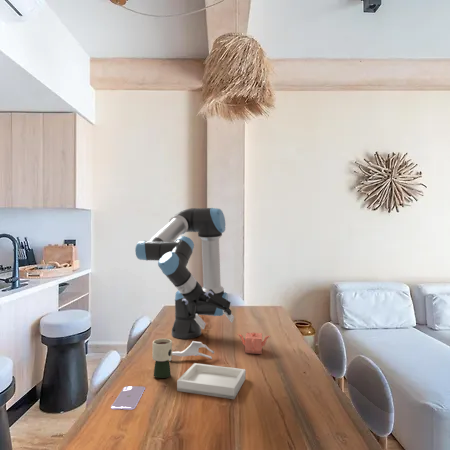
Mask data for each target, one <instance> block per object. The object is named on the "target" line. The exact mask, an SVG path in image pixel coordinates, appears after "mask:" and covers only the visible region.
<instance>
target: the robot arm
mask: <svg viewBox="0 0 450 450" xmlns="http://www.w3.org/2000/svg"><path fill="white" fill-rule="evenodd" d="M225 231H226V218H225V214H224V212H223V210H222V209H221V208H217V207H216V208H215V207H214V208H213V207H207V208H206V207H200V208H198V207H197V208H196V207H195V208H193V207H191V208H186V209H184V210H181V211H179V212H178V213H176V214H174V215H173V216H172V217H170V219H169V221H168V223H167V224H165V226H164V227H162V228H161V229H160V230H159V231H158V232H157V233H155V234H154V235H153V236H152V237H151V238H150V239H149V240H141V241H138V242H136V245H135V248H134V249H135V255H136V256H135V257H136V258H137V259H138V260H140V261H157V265H158V267H159V269H160V271H161V272H162V274H164V275H165V276H166V278H167V279H168V280H169V281H170V282H171V283H172V285H174V288H176V290H177V291H176V292H175V296H174V297H175V299H174V312H175V313H174V317H175V318H174V322H173V325H172V328H171V336H172V337H173V338H176V339H186V340H187V339H195V338H198V337H200V336H202V330H204V329H205V328H206V322H205V321H204V319H203V318H202V317H201V316H211V317H222V316H224V315H225V316H226V318H227V319H228V320H229V322H230V323H233V322H234V319H235V316H234V315H233V314H232V310H231V309H230V307H231V301H230V300H228V299H229V298H228V297H229V296H228V293H227V292H225V290H224V289H225V288H224V287H223V286H222V285H221V259H220V258H221V256H220V254H221V253H220V238H222V236H223V233H225ZM186 233H197V235H198V236H197V237H198V238H199V239H200V240H201V259H202V260H201V262H202V282H203V283H202V284H203V286H202V285H201V284H200V283H199V282H198V281H197V279H196V278H195V277H194V275H193V274H192V273H191V272H190V270H189V269H188V268H187V267H188V263H189V261H190V258H191V256H192V254H193V251H194V248H195V247H194V246H195V244H194V241H193V240H192V239H191V238H190V237H188V236H186V235H185V236H184V234H186ZM182 235H183V236H182Z"/></svg>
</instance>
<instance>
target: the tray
mask: <svg viewBox="0 0 450 450" xmlns="http://www.w3.org/2000/svg"><path fill="white" fill-rule="evenodd" d="M246 374H247V373H246V369H245V368H237V367H229V366H221V365H213V364H212V365H211V364H205V363H197V362H193V364H192V365H191V366H190V367H189V368H188V369H187V370H186V371H185V372H184V373H183V374H182V375H180V377H179V378H178V379H177V381H176V391H177V392H183V393H190V394H194V395H195V394H196V395H202V396H203V395H204V396H209V397H210V396H211V397H217V398H222V399H223V398H224V399H231V400H235V398H236V397H237V395H238V393H239V391H240V390H241V389H242V385H243V384H244V382H245V380H246Z"/></svg>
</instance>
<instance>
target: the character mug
mask: <svg viewBox="0 0 450 450" xmlns="http://www.w3.org/2000/svg"><path fill="white" fill-rule="evenodd" d="M172 352H173V340H172V339H170V338H157V339H154V340H153V341H152V360H153V361H155V362H154V369H153V377H154V378H158V379H160V378H161V379H166V378H170V377H171V364H170V361H169V359H171V358H172V359H173V355H172ZM172 359H171V360H172Z"/></svg>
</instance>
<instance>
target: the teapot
mask: <svg viewBox="0 0 450 450" xmlns="http://www.w3.org/2000/svg"><path fill="white" fill-rule="evenodd" d="M236 334H237V333H236ZM237 336H238V337H239V338H240V340H241V343H242V345H243V346H244V354H254V355H256V354H257V355H262V354H263V353H262V352H263V351H262V350H263V347H264V346H265V345H266V344H267V340H268V339H269V338H270V337H271V335H266V336H265V338H264V339H263V333H261V332H253V331H252V332H246V334H245V338H244V336H243V335H242V334H239V333H238V334H237Z"/></svg>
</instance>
